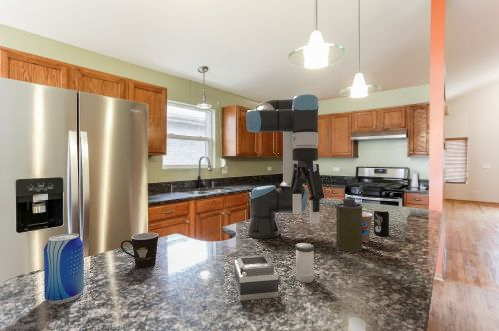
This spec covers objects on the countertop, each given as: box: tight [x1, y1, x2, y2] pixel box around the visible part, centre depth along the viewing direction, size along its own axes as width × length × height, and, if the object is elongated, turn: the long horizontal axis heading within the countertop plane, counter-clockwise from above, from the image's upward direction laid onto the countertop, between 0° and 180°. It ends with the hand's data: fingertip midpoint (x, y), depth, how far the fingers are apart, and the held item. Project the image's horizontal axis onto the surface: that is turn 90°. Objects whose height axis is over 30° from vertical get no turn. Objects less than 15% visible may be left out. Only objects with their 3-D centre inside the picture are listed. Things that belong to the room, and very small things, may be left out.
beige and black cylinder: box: [295, 242, 315, 284], centre depth 81 cm, size 5×5×10 cm
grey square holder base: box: [233, 254, 279, 301], centre depth 75 cm, size 12×10×7 cm
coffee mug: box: [120, 232, 159, 270], centre depth 92 cm, size 12×9×10 cm
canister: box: [335, 197, 364, 253], centre depth 109 cm, size 11×10×20 cm
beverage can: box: [373, 208, 390, 237], centre depth 128 cm, size 7×7×12 cm
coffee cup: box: [362, 211, 374, 243], centre depth 119 cm, size 10×10×12 cm
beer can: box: [43, 233, 85, 305], centre depth 70 cm, size 8×8×16 cm
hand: (305, 218), depth 80 cm, fingers open, 13 cm apart
